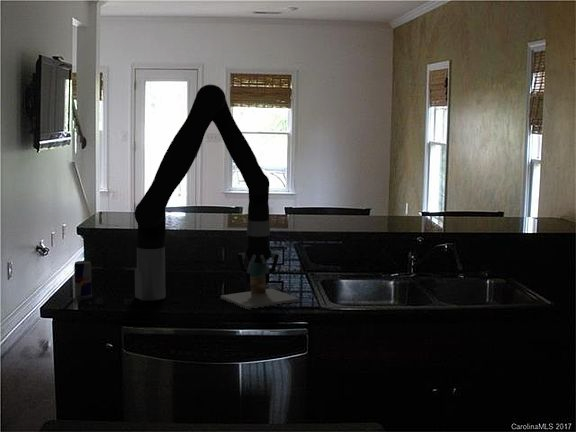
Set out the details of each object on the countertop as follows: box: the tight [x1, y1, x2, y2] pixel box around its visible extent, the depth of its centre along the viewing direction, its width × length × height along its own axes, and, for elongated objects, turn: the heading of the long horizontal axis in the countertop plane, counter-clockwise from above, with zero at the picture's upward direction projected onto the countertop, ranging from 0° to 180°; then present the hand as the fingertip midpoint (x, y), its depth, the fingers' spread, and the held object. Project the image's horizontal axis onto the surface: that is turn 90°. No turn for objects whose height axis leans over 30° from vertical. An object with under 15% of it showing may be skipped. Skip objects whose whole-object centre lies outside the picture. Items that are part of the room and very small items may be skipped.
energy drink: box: [73, 260, 93, 300], centre depth 267 cm, size 5×5×12 cm
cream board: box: [220, 287, 300, 310], centre depth 267 cm, size 20×17×1 cm
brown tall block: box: [249, 263, 267, 293], centre depth 269 cm, size 5×5×11 cm
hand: (258, 283), depth 269 cm, fingers closed on brown tall block, 5 cm apart
